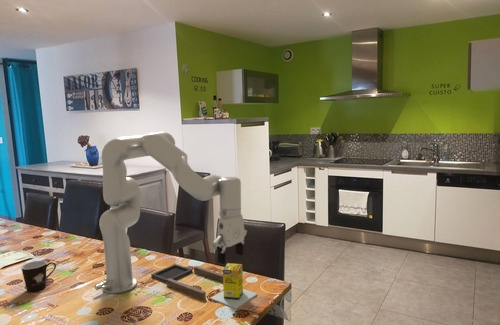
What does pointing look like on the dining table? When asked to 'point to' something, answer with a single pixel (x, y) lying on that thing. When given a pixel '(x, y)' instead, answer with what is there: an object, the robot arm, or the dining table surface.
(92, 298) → the dining table surface
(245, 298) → the pad
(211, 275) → the wooden bars
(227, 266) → the supplement box
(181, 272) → the tray
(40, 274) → the coffee mug
